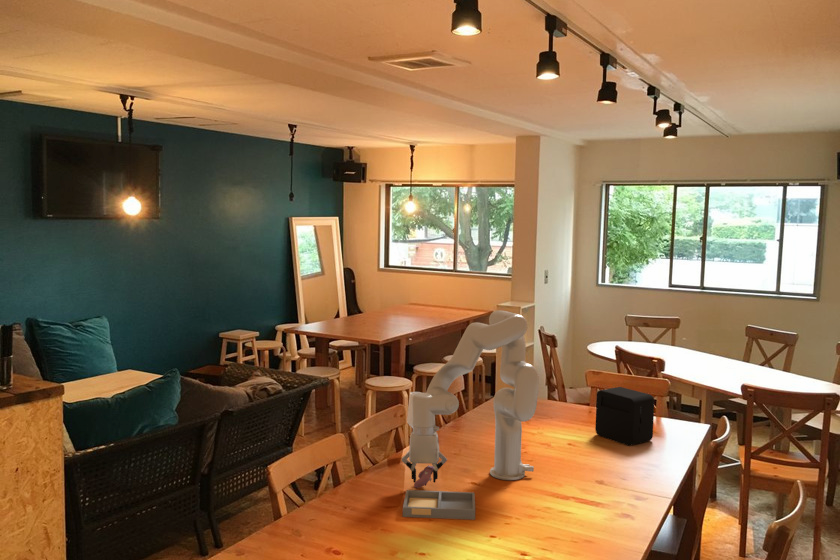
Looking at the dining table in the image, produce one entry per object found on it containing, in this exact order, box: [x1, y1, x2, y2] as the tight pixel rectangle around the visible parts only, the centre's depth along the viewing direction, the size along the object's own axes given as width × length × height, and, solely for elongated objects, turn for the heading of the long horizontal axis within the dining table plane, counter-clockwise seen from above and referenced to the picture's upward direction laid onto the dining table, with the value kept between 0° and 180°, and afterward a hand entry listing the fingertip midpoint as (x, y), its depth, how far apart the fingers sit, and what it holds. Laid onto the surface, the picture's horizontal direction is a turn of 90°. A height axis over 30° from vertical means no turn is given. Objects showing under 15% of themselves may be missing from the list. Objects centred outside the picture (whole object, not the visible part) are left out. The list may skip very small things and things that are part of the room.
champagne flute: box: [406, 391, 422, 454], centre depth 277 cm, size 7×7×24 cm
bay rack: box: [402, 489, 476, 521], centre depth 225 cm, size 22×14×3 cm, turn 86°
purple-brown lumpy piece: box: [413, 464, 434, 489], centre depth 241 cm, size 10×5×7 cm, turn 170°
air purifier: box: [595, 386, 655, 447], centre depth 301 cm, size 20×15×20 cm
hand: (424, 480), depth 241 cm, fingers closed on purple-brown lumpy piece, 6 cm apart
